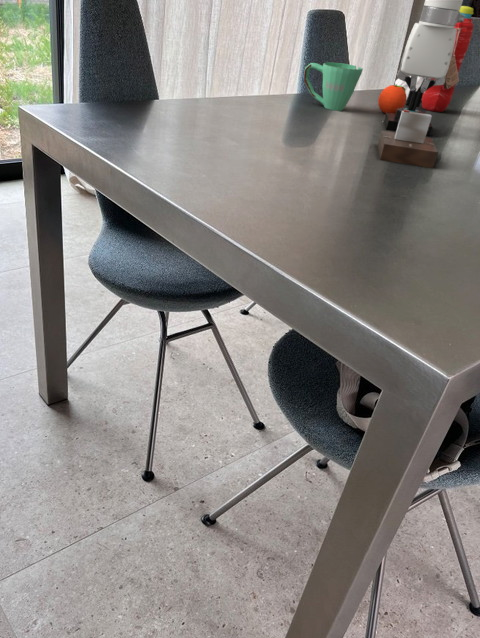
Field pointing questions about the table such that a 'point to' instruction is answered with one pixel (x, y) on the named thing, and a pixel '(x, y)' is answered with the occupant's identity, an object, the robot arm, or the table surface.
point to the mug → (334, 83)
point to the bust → (404, 84)
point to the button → (412, 110)
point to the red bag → (451, 66)
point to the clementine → (392, 99)
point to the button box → (393, 120)
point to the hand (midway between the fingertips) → (411, 109)
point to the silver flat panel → (412, 126)
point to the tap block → (406, 151)
